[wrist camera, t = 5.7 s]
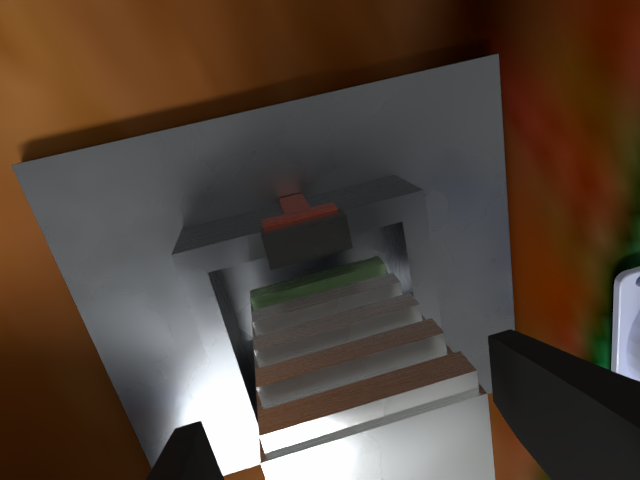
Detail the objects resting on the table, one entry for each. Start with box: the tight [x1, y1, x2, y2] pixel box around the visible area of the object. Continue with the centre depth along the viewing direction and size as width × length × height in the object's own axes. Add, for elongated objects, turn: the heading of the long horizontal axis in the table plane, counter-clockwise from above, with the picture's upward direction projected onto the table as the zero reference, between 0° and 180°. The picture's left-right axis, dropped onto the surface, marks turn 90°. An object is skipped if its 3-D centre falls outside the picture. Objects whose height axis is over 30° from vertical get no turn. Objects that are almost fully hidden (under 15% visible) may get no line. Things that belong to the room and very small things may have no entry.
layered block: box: [250, 256, 495, 480], centre depth 11 cm, size 4×4×6 cm
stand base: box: [11, 54, 515, 476], centre depth 15 cm, size 16×14×4 cm
